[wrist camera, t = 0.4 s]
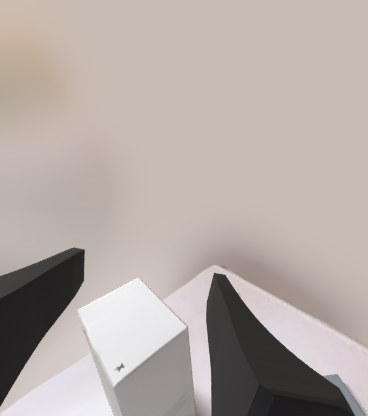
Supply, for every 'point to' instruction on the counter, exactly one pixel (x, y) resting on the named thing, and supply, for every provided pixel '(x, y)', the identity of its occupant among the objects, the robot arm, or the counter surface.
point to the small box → (140, 352)
